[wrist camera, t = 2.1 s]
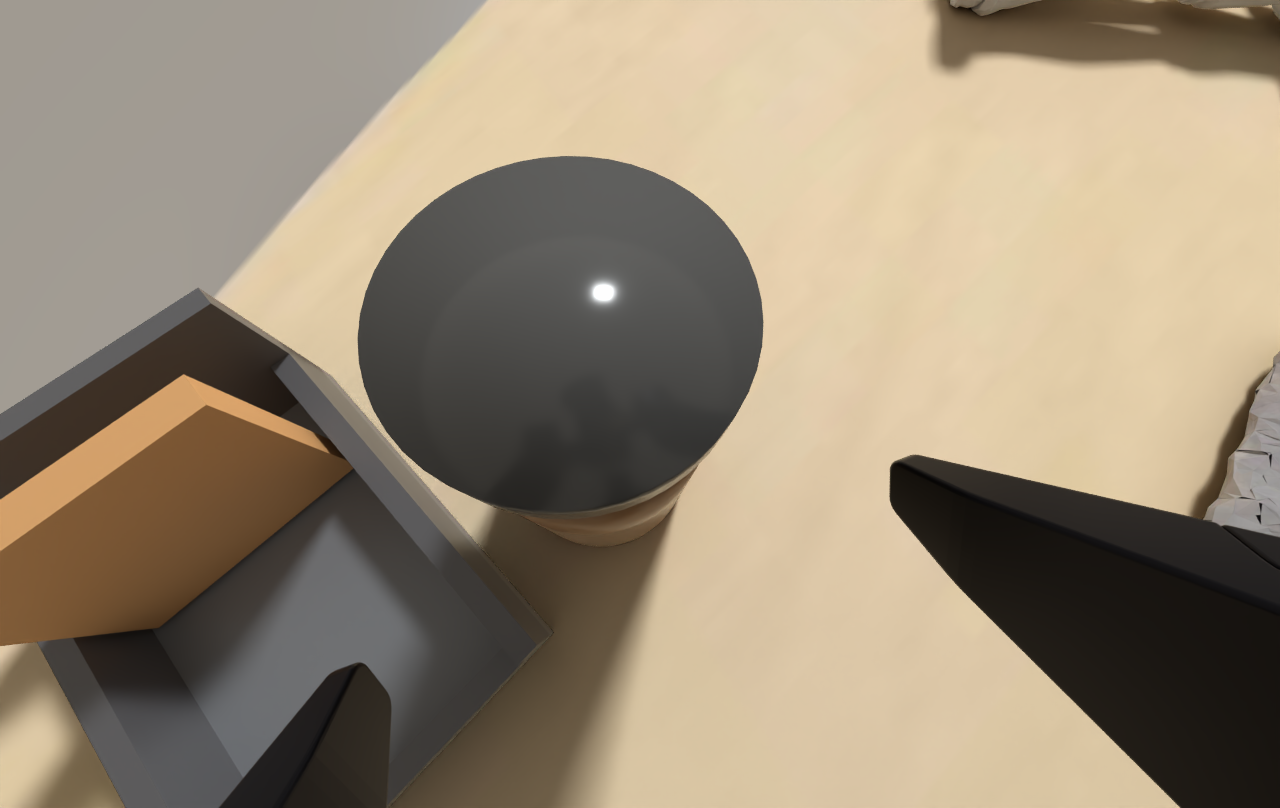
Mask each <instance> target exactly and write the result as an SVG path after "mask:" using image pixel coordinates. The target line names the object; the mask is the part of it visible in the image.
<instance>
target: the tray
mask: <svg viewBox="0 0 1280 808" xmlns="http://www.w3.org/2000/svg"><path fill="white" fill-rule="evenodd" d="M183 374H184V375H186V376H188V377H190V378H193V379H195V380H197V381H199V382H202V383H204V384H206V385H208V386H211V387H213V388H215V389H217V390H220V391H222V392H224V393H226V394H229V395H231V396H233V397H235V398H238V399H240V400H242V401H245V402H247V403H249V404H251V405H254V406H256V407H258V408H260V409H263V410H265V411H267V412H269V413H272V414H274V415H276V416H278V417H281V418H283V419H285V420H287V421H290V422H292V423H294V424H296V425H299V426H301V427H303V428H305V429H308V430H310V431H312V432H314V433H317V434H319V435H321V436H323V437H326V438H328V439H330V440H331V441H332V443H333V444H334V445H335V446H336V447H337V449H338V450H339V451H340V452H341V453H342V455H343V456H344V457H345V458H346V459H347V461H348V462H349V463H350V464H351V466H352V467H353V469H352V470H351V471H350V472H349V473H347V474H346V475H345V476H344V477H342V478H341V479H340V480H339V481H338V482H336V483H335V484H334V485H333V486H331V487H330V488H329V489H328V490H327V491H325V492H324V493H323V494H322V495H320V496H319V497H318V498H317V499H316V500H314V501H313V502H312V503H311V504H309V505H308V506H307V507H306V508H305V509H303V510H302V511H301V512H300V513H298V514H297V515H296V516H295V517H294V518H292V519H291V520H290V521H289V522H287V523H286V524H285V525H284V526H283V527H281V528H280V529H279V530H278V531H276V532H275V533H274V534H273V535H272V536H270V537H269V538H268V539H267V540H265V541H264V542H263V543H262V544H261V545H259V546H258V547H257V548H256V549H254V550H253V551H252V552H251V553H250V554H248V555H247V556H246V557H245V558H243V559H242V560H241V561H240V562H239V563H237V564H236V565H235V566H234V567H232V568H231V569H230V570H229V571H228V572H226V573H225V574H224V575H223V576H222V577H220V578H219V579H218V580H217V581H215V582H214V583H213V584H212V585H211V586H209V587H208V588H207V589H206V590H204V591H203V592H202V593H201V594H200V595H198V596H197V597H196V598H195V599H193V600H192V601H191V602H190V603H189V604H187V605H186V606H185V607H184V608H182V609H181V610H180V611H179V612H178V613H176V614H175V615H174V616H173V617H171V618H170V619H169V620H168V621H167V622H165V623H164V624H163V625H162V626H160V627H159V628H153V629H144V630H135V631H127V632H118V633H109V634H101V635H92V636H83V637H74V638H66V639H57V640H48V641H40V642H37V643H38V645H39V647H40V648H41V650H42V652H43V654H44V656H45V658H46V660H47V662H48V663H49V665H50V667H51V669H52V671H53V673H54V675H55V677H56V678H57V680H58V682H59V684H60V686H61V688H62V690H63V691H64V693H65V695H66V697H67V699H68V701H69V703H70V705H71V706H72V708H73V710H74V712H75V714H76V716H77V718H78V720H79V721H80V723H81V725H82V727H83V729H84V731H85V733H86V734H87V736H88V738H89V740H90V742H91V744H92V746H93V748H94V749H95V751H96V753H97V755H98V757H99V759H100V761H101V763H102V764H103V766H104V768H105V770H106V772H107V774H108V776H109V777H110V779H111V781H112V783H113V785H114V787H115V789H116V791H117V792H118V794H119V796H120V798H121V800H122V802H123V804H124V806H125V807H126V808H219V807H220V805H221V804H222V803H223V802H224V801H225V799H226V798H227V797H228V796H229V795H230V793H231V792H232V791H233V790H234V788H235V787H236V786H237V785H238V784H239V782H240V781H241V780H242V779H243V778H244V776H245V775H246V774H247V773H248V771H249V770H250V769H251V768H252V767H253V765H254V764H255V763H256V762H257V761H258V759H259V758H260V757H261V756H262V755H263V753H264V752H265V751H266V750H267V748H268V747H269V746H270V745H271V744H272V742H273V741H274V740H275V739H276V738H277V736H278V735H279V734H280V733H281V731H282V730H283V729H284V728H285V727H286V725H287V724H288V723H289V722H290V721H291V719H292V718H293V717H294V716H295V715H296V713H297V712H298V711H299V710H300V708H301V707H302V706H303V705H304V704H305V702H306V701H307V700H308V699H309V698H310V696H311V695H312V694H313V693H314V691H315V690H316V689H317V688H318V687H319V685H320V684H321V683H322V682H323V681H324V679H325V678H326V677H327V676H328V675H329V674H330V673H332V672H333V671H335V670H338V669H340V668H343V667H346V666H348V665H351V664H354V663H358V662H361V663H364V664H366V665H367V666H368V668H369V669H370V670H371V671H372V673H373V674H374V675H375V676H376V678H377V679H378V680H379V682H380V683H381V684H382V685H383V687H384V688H385V689H386V691H387V692H388V694H389V696H390V700H391V706H392V714H391V735H390V755H389V776H388V796H387V808H389V807H390V806H391V805H392V803H393V802H394V801H395V800H396V799H397V798H398V797H399V796H400V795H401V794H402V793H403V792H404V791H405V790H406V789H407V788H408V786H409V785H410V784H411V783H412V782H413V781H414V780H415V779H416V778H417V777H418V776H419V775H420V774H421V773H422V772H423V771H424V770H425V768H426V767H427V766H428V765H429V764H430V763H431V762H432V761H433V760H434V759H435V758H436V757H437V756H438V755H439V754H440V753H441V752H442V750H443V749H444V748H445V747H446V746H447V745H448V744H449V743H450V742H451V741H452V740H453V739H454V738H455V737H456V736H457V735H458V733H459V732H460V731H461V730H462V729H463V728H464V727H465V726H466V725H467V724H468V723H469V722H470V721H471V720H472V719H473V718H474V717H475V715H476V714H477V713H478V712H479V711H480V710H481V709H482V708H483V707H484V706H485V705H486V704H487V703H488V702H489V701H490V700H491V699H492V697H493V696H494V695H495V694H496V693H497V692H498V691H499V690H500V689H501V688H502V687H503V686H504V685H505V684H506V683H507V682H508V680H509V679H510V678H511V677H512V676H513V675H514V674H515V673H516V672H517V671H518V670H519V669H520V668H521V667H522V666H523V665H524V664H525V662H526V661H527V660H528V659H529V658H530V657H531V656H532V655H533V654H534V653H535V652H536V651H537V650H538V649H539V648H540V647H541V645H542V644H543V643H544V642H545V641H546V640H547V639H548V638H549V637H550V636H551V635H552V634H553V633H554V632H553V631H552V630H551V629H550V628H549V626H548V625H547V624H546V623H545V622H544V621H543V619H542V618H541V617H540V616H539V615H538V614H537V613H536V611H535V610H534V609H533V608H532V607H531V606H530V604H529V603H528V602H527V601H526V600H525V599H524V598H523V596H522V595H521V594H520V593H519V592H518V591H517V589H516V588H515V587H514V586H513V585H512V584H511V583H510V581H509V580H508V579H507V578H506V577H505V576H504V574H503V573H502V572H501V571H500V570H499V569H498V568H497V566H496V565H495V564H494V563H493V562H492V561H491V559H490V558H489V557H488V556H487V555H486V554H485V553H484V551H483V550H482V549H481V548H480V547H479V546H478V544H477V543H476V542H475V541H474V540H473V539H472V538H471V536H470V535H469V534H468V533H467V532H466V531H465V530H464V528H463V527H462V526H461V525H460V524H459V523H458V521H457V520H456V519H455V518H454V517H453V516H452V515H451V513H450V512H449V511H448V510H447V509H446V508H445V506H444V505H443V504H442V503H441V502H440V501H439V500H438V498H437V497H436V496H435V495H434V494H433V493H432V491H431V490H430V489H429V488H428V487H427V486H426V485H425V483H424V482H423V481H422V480H421V479H420V478H419V476H418V475H417V474H416V473H415V472H414V471H413V470H412V468H411V467H410V466H409V465H408V464H407V463H406V461H405V460H404V459H403V458H402V457H401V456H400V455H399V453H398V452H397V451H396V450H395V449H394V448H393V446H392V445H391V444H390V443H389V442H388V441H387V440H386V438H385V437H384V436H383V435H382V434H381V433H380V431H379V430H378V429H377V428H376V427H375V426H374V425H373V423H372V422H371V421H370V420H369V419H368V418H367V416H366V415H365V414H364V413H363V412H362V411H361V410H360V408H359V407H358V406H357V405H356V404H355V403H354V401H353V400H352V399H351V398H350V397H349V396H348V395H347V393H346V392H345V391H344V390H343V389H342V388H341V386H340V385H339V384H338V383H337V382H336V381H335V380H334V378H333V377H332V376H331V375H330V374H328V373H327V372H325V371H324V370H322V369H321V368H319V367H318V366H316V365H315V364H313V363H312V362H310V361H309V360H307V359H306V358H304V357H303V356H301V355H300V354H298V353H297V352H295V351H293V350H292V349H290V348H289V347H287V346H286V345H284V344H283V343H281V342H280V341H278V340H277V339H275V338H274V337H272V336H271V335H269V334H268V333H266V332H265V331H263V330H262V329H260V328H259V327H257V326H256V325H254V324H252V323H251V322H249V321H248V320H246V319H245V318H243V317H242V316H240V315H239V314H237V313H236V312H234V311H233V310H231V309H230V308H228V307H227V306H225V305H224V304H222V303H221V302H219V301H218V300H216V299H215V298H213V297H212V296H210V295H208V294H207V293H205V292H204V291H202V290H201V289H199V288H197V289H195V290H194V291H192V292H191V293H189V294H187V295H186V296H184V297H183V298H181V299H180V300H178V301H177V302H175V303H174V304H172V305H170V306H169V307H167V308H166V309H164V310H162V311H161V312H159V313H158V314H156V315H155V316H153V317H152V318H150V319H149V320H147V321H145V322H144V323H142V324H141V325H139V326H137V327H136V328H135V329H133V330H131V331H130V332H128V333H126V334H125V335H123V336H122V337H120V338H119V339H117V340H116V341H114V342H112V343H111V344H110V345H108V346H107V347H105V348H103V349H102V350H100V351H98V352H97V353H95V354H94V355H92V356H91V357H89V358H88V359H86V360H84V361H83V362H81V363H80V364H78V365H77V366H75V367H73V368H72V369H70V370H69V371H67V372H66V373H64V374H62V375H61V376H59V377H58V378H56V379H55V380H53V381H52V382H50V383H48V384H47V385H45V386H44V387H42V388H40V389H39V390H37V391H36V392H34V393H33V394H31V395H30V396H28V397H27V398H25V399H23V400H22V401H20V402H19V403H17V404H15V405H14V406H12V407H11V408H9V409H8V410H6V411H5V412H3V413H1V414H0V499H2V498H3V497H5V496H6V495H8V494H9V493H11V492H12V491H14V490H15V489H17V488H18V487H19V486H21V485H22V484H24V483H25V482H27V481H28V480H30V479H31V478H33V477H34V476H36V475H37V474H38V473H40V472H41V471H43V470H44V469H46V468H47V467H49V466H50V465H52V464H53V463H55V462H56V461H57V460H59V459H60V458H62V457H63V456H65V455H66V454H68V453H69V452H71V451H72V450H74V449H75V448H76V447H78V446H79V445H81V444H82V443H84V442H85V441H87V440H88V439H90V438H91V437H93V436H94V435H95V434H97V433H98V432H100V431H101V430H103V429H104V428H106V427H107V426H109V425H110V424H112V423H113V422H114V421H116V420H117V419H119V418H120V417H122V416H123V415H125V414H126V413H128V412H129V411H131V410H132V409H133V408H135V407H136V406H138V405H139V404H141V403H142V402H144V401H145V400H147V399H148V398H150V397H151V396H152V395H154V394H155V393H157V392H158V391H160V390H161V389H163V388H164V387H166V386H167V385H169V384H170V383H172V382H173V381H174V380H176V379H177V378H179V377H180V376H182V375H183Z"/></svg>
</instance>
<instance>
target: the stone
mask: <svg viewBox="0 0 1280 808" xmlns="http://www.w3.org/2000/svg"><path fill="white" fill-rule="evenodd" d="M1203 520H1207V521H1212V522H1215V523H1217V524H1219V525H1220V526H1222V525H1230V526H1234V527H1239V528H1243V529H1247V530H1252V531H1256V532H1260V533H1265V534H1269V535H1274V536H1278V537H1280V352H1279V353H1278V354H1277V355H1276V356H1275V357H1274V359H1273V369H1272V370H1271V371H1270V372H1269V374H1268V375H1267V376H1266V377H1265V379H1264V380H1263V381H1262V383H1261V384H1260V385H1259V386H1258V388H1257V389H1256V390H1255V399H1254V402H1253V404H1252V406H1251V408H1250V411H1249V419H1248V423H1247V427H1246V432H1245V438H1244V439H1243V441H1242V442H1241V444H1240V445H1239V447H1238V448H1237V449H1236V450H1235V451H1234V453H1233V454H1232V455H1231V456H1230V457H1229V458H1228V466H1227V475H1226V478H1225V481H1224V484H1223V486H1222V489H1221V492H1220V495H1219V497H1218V499H1217V500H1216V501H1214V502H1213V503H1212V504H1211V505H1210V506H1209V507H1208V509H1207V512H1206V515H1205V517H1204V518H1203Z"/></svg>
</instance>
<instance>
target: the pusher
mask: <svg viewBox="0 0 1280 808" xmlns="http://www.w3.org/2000/svg"><path fill="white" fill-rule="evenodd" d="M352 469H353V467H352V466H351V464H350V463H349V462H348V461H347V459H346V458H345V457H344V456H343V455H342V453H341V452H340V451H339V450H338V449H337V447H336V446H335V445H334V444H333V443H332V441H331V440H330V439H328V438H326V437H323V436H321V435H319V434H317V433H314V432H312V431H310V430H308V429H305V428H303V427H301V426H299V425H296V424H294V423H292V422H290V421H287V420H285V419H283V418H281V417H278V416H276V415H274V414H272V413H269V412H267V411H265V410H263V409H260V408H258V407H256V406H254V405H251V404H249V403H247V402H245V401H242V400H240V399H238V398H235V397H233V396H231V395H229V394H226V393H224V392H222V391H220V390H217V389H215V388H213V387H211V386H208V385H206V384H204V383H202V382H199V381H197V380H195V379H193V378H190V377H188V376H186V375H184V374H183V375H182V376H180V377H179V378H177V379H176V380H174V381H173V382H172V383H170V384H169V385H167V386H166V387H164V388H163V389H161V390H160V391H158V392H157V393H155V394H154V395H152V396H151V397H150V398H148V399H147V400H145V401H144V402H142V403H141V404H139V405H138V406H136V407H135V408H133V409H132V410H131V411H129V412H128V413H126V414H125V415H123V416H122V417H120V418H119V419H117V420H116V421H114V422H113V423H112V424H110V425H109V426H107V427H106V428H104V429H103V430H101V431H100V432H98V433H97V434H95V435H94V436H93V437H91V438H90V439H88V440H87V441H85V442H84V443H82V444H81V445H79V446H78V447H76V448H75V449H74V450H72V451H71V452H69V453H68V454H66V455H65V456H63V457H62V458H60V459H59V460H57V461H56V462H55V463H53V464H52V465H50V466H49V467H47V468H46V469H44V470H43V471H41V472H40V473H38V474H37V475H36V476H34V477H33V478H31V479H30V480H28V481H27V482H25V483H24V484H22V485H21V486H19V487H18V488H17V489H15V490H14V491H12V492H11V493H9V494H8V495H6V496H5V497H3V498H2V499H0V646H5V645H13V644H22V643H31V642H40V641H48V640H57V639H66V638H74V637H83V636H92V635H101V634H109V633H118V632H127V631H135V630H144V629H153V628H159V627H160V626H162V625H163V624H164V623H165V622H167V621H168V620H169V619H170V618H171V617H173V616H174V615H175V614H176V613H178V612H179V611H180V610H181V609H182V608H184V607H185V606H186V605H187V604H189V603H190V602H191V601H192V600H193V599H195V598H196V597H197V596H198V595H200V594H201V593H202V592H203V591H204V590H206V589H207V588H208V587H209V586H211V585H212V584H213V583H214V582H215V581H217V580H218V579H219V578H220V577H222V576H223V575H224V574H225V573H226V572H228V571H229V570H230V569H231V568H232V567H234V566H235V565H236V564H237V563H239V562H240V561H241V560H242V559H243V558H245V557H246V556H247V555H248V554H250V553H251V552H252V551H253V550H254V549H256V548H257V547H258V546H259V545H261V544H262V543H263V542H264V541H265V540H267V539H268V538H269V537H270V536H272V535H273V534H274V533H275V532H276V531H278V530H279V529H280V528H281V527H283V526H284V525H285V524H286V523H287V522H289V521H290V520H291V519H292V518H294V517H295V516H296V515H297V514H298V513H300V512H301V511H302V510H303V509H305V508H306V507H307V506H308V505H309V504H311V503H312V502H313V501H314V500H316V499H317V498H318V497H319V496H320V495H322V494H323V493H324V492H325V491H327V490H328V489H329V488H330V487H331V486H333V485H334V484H335V483H336V482H338V481H339V480H340V479H341V478H342V477H344V476H345V475H346V474H347V473H349V472H350V471H351V470H352Z"/></svg>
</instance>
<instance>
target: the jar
mask: <svg viewBox="0 0 1280 808" xmlns="http://www.w3.org/2000/svg"><path fill="white" fill-rule="evenodd" d="M762 337H763V313H762V302H761V296H760V292H759V288H758V284H757V280H756V277H755V274H754V272H753V269H752V267H751V264H750V262H749V259H748V257H747V255H746V254H745V252H744V250H743V248H742V247H741V245H740V243H739V241H738V240H737V238H736V237H735V235H734V234H733V233H732V232H731V230H730V229H729V228H728V226H727V225H726V224H725V222H724V221H723V220H722V219H721V218H720V217H719V216H718V215H717V214H716V213H715V212H714V211H713V210H712V209H711V208H710V207H709V206H708V205H706V204H705V203H704V202H703V201H701V200H700V199H699V198H698V197H696V196H695V195H694V194H692V193H691V192H690V191H688V190H686V189H685V188H683V187H681V186H680V185H678V184H676V183H675V182H673V181H671V180H669V179H667V178H665V177H663V176H661V175H658V174H656V173H654V172H652V171H649V170H646V169H643V168H640V167H637V166H634V165H631V164H627V163H623V162H618V161H614V160H609V159H601V158H593V157H577V156H560V157H547V158H538V159H532V160H527V161H521V162H516V163H513V164H509V165H506V166H502V167H499V168H495V169H493V170H490V171H488V172H485V173H483V174H480V175H477V176H475V177H473V178H471V179H469V180H467V181H465V182H463V183H461V184H459V185H457V186H455V187H453V188H452V189H450V190H449V191H447V192H446V193H444V194H443V195H441V196H440V197H438V198H437V199H435V200H434V201H433V202H431V203H430V204H429V205H428V206H427V207H425V208H424V209H423V210H422V211H420V212H419V213H418V214H417V215H416V216H415V217H414V218H413V219H412V220H411V221H410V222H409V223H408V224H407V225H406V226H405V227H404V228H403V229H402V230H401V231H400V233H399V234H398V235H397V237H396V238H395V239H394V241H393V242H392V243H391V244H390V246H389V247H388V248H387V250H386V251H385V253H384V255H383V257H382V258H381V260H380V262H379V264H378V265H377V267H376V269H375V271H374V273H373V275H372V278H371V280H370V283H369V285H368V288H367V290H366V293H365V297H364V301H363V305H362V309H361V313H360V320H359V330H358V353H359V365H360V369H361V374H362V379H363V383H364V387H365V390H366V392H367V395H368V397H369V400H370V403H371V405H372V408H373V410H374V412H375V413H376V415H377V417H378V418H379V420H380V422H381V423H382V425H383V427H384V429H385V430H386V432H387V433H388V434H389V435H390V437H391V438H392V439H393V440H394V441H395V443H396V444H397V445H398V446H399V448H400V449H401V450H402V451H403V452H404V453H405V454H406V455H407V456H408V457H409V458H411V459H412V460H413V461H414V462H415V463H416V464H417V465H418V466H420V467H421V468H422V469H423V470H424V471H426V472H427V473H429V474H431V475H432V476H434V477H435V478H437V479H438V480H440V481H441V482H443V483H445V484H446V485H448V486H450V487H452V488H454V489H456V490H458V491H460V492H462V493H465V494H467V495H469V496H471V497H473V498H475V499H477V500H480V501H482V502H484V503H486V504H488V505H490V506H493V507H495V508H498V509H502V510H505V511H508V512H512V513H515V514H518V515H520V516H522V517H524V518H526V519H528V520H530V521H532V522H534V523H536V524H538V525H540V526H541V527H543V528H545V529H547V530H549V531H551V532H553V533H555V534H557V535H559V536H561V537H563V538H565V539H567V540H569V541H572V542H575V543H578V544H582V545H587V546H594V547H607V546H615V545H620V544H624V543H627V542H630V541H632V540H635V539H637V538H639V537H641V536H643V535H644V534H646V533H648V532H649V531H651V530H652V529H653V528H654V527H656V526H657V525H658V524H659V523H660V522H661V521H662V520H663V519H664V518H665V517H666V515H667V514H668V513H669V511H670V510H671V509H672V507H673V506H674V504H675V502H676V501H677V499H678V497H679V496H680V494H681V493H682V491H683V489H684V488H685V486H686V484H687V483H688V481H689V479H690V478H691V476H692V475H693V473H694V471H695V470H696V468H697V466H698V465H699V463H700V462H701V461H702V460H703V459H704V458H705V457H706V456H707V455H708V454H709V453H710V452H711V450H712V449H713V448H714V446H715V445H716V444H717V442H718V441H719V440H720V438H721V437H722V436H723V434H724V433H725V431H726V430H727V428H728V427H729V425H730V423H731V422H732V420H733V419H734V417H735V416H736V414H737V412H738V411H739V409H740V407H741V405H742V403H743V401H744V400H745V398H746V396H747V394H748V392H749V390H750V387H751V384H752V381H753V379H754V376H755V373H756V371H757V367H758V362H759V358H760V353H761V348H762Z"/></svg>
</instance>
